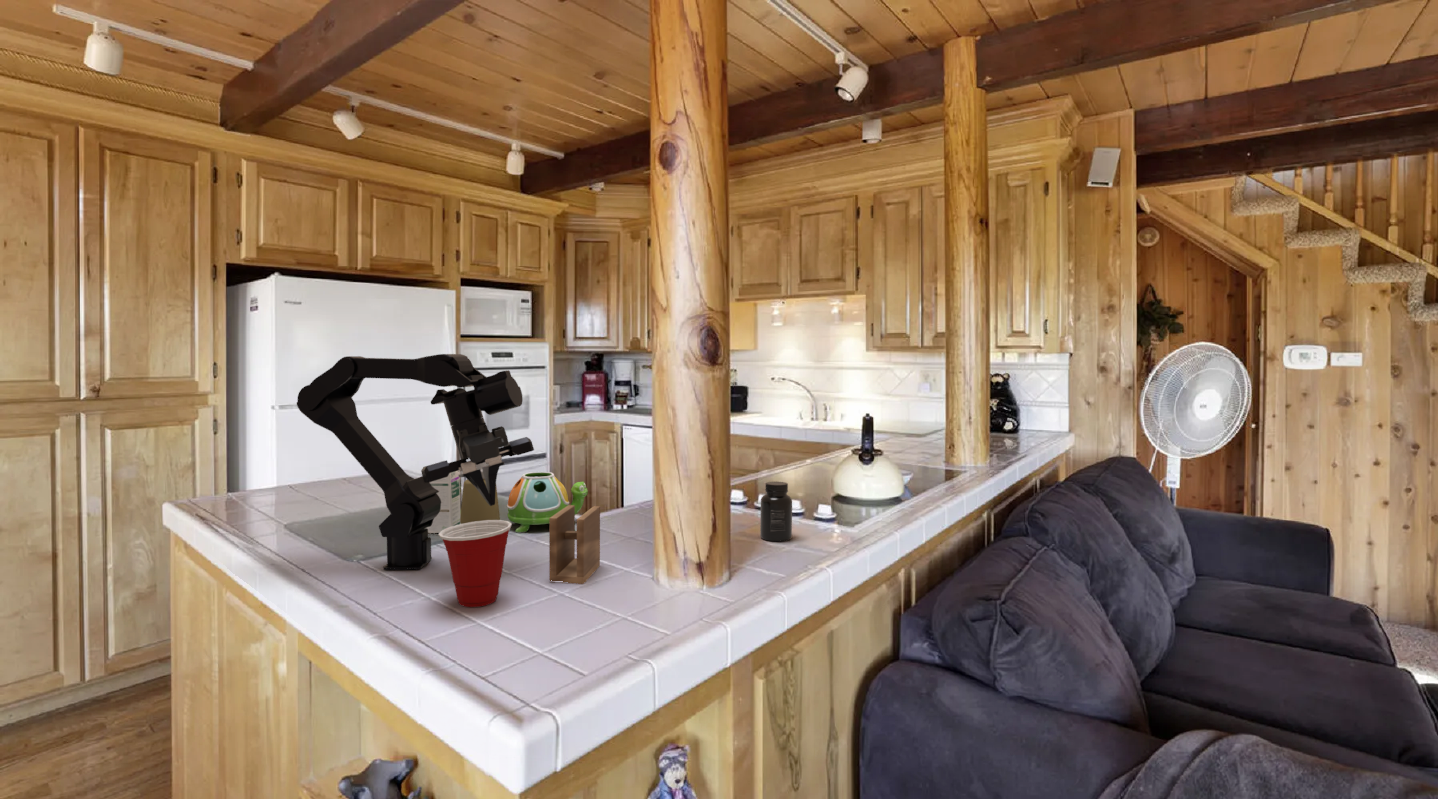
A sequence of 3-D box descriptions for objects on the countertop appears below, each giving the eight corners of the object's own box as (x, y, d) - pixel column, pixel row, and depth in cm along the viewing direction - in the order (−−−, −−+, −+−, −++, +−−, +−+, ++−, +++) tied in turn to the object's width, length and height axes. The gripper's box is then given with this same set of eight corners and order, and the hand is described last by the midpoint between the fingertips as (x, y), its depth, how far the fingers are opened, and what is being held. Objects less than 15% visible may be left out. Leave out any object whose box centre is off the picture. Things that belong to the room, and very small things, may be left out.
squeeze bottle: (487, 542, 138) (486, 456, 137) (451, 540, 140) (451, 454, 139) (507, 532, 146) (506, 450, 145) (473, 530, 148) (472, 448, 147)
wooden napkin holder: (549, 582, 116) (549, 518, 115) (568, 564, 126) (568, 505, 125) (583, 584, 115) (583, 519, 114) (599, 565, 125) (600, 506, 124)
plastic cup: (456, 587, 112) (456, 516, 111) (521, 589, 112) (521, 518, 111) (426, 612, 101) (425, 534, 100) (497, 614, 101) (497, 536, 100)
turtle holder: (594, 528, 152) (594, 475, 151) (511, 536, 144) (510, 480, 143) (581, 515, 163) (582, 466, 162) (503, 522, 155) (503, 471, 154)
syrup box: (452, 534, 144) (451, 467, 143) (424, 533, 144) (423, 466, 143) (462, 527, 150) (461, 462, 149) (436, 526, 150) (435, 462, 149)
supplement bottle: (797, 537, 147) (798, 482, 146) (782, 544, 141) (784, 487, 140) (769, 532, 150) (770, 479, 150) (754, 538, 145) (755, 483, 144)
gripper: (417, 433, 109) (445, 525, 109) (529, 403, 118) (554, 488, 119) (410, 437, 118) (436, 522, 119) (514, 410, 128) (537, 488, 128)
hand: (492, 505), depth 121 cm, fingers closed
